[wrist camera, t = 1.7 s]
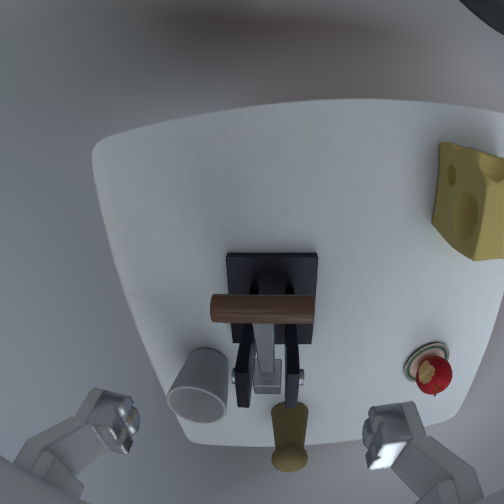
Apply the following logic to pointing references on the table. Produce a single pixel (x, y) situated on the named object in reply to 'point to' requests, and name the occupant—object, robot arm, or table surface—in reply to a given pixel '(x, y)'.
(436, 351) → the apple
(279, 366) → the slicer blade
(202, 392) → the cup
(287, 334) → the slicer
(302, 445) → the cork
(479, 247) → the cheese
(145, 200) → the table surface
